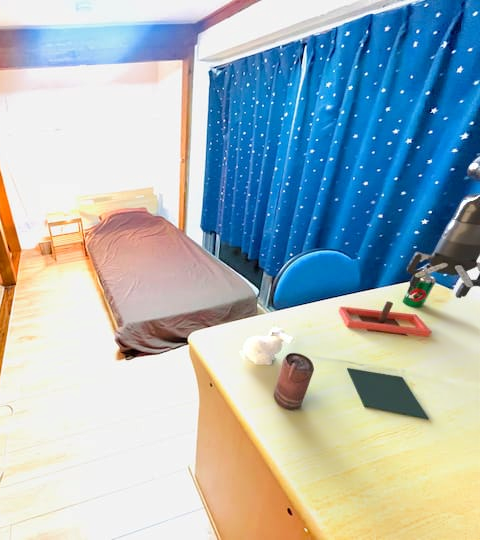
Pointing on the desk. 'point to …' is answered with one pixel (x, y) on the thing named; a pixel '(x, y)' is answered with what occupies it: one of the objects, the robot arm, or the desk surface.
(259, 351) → the rabbit
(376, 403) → the mat
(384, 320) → the stand
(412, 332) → the loop
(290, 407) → the can
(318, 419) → the desk surface
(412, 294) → the soda can
